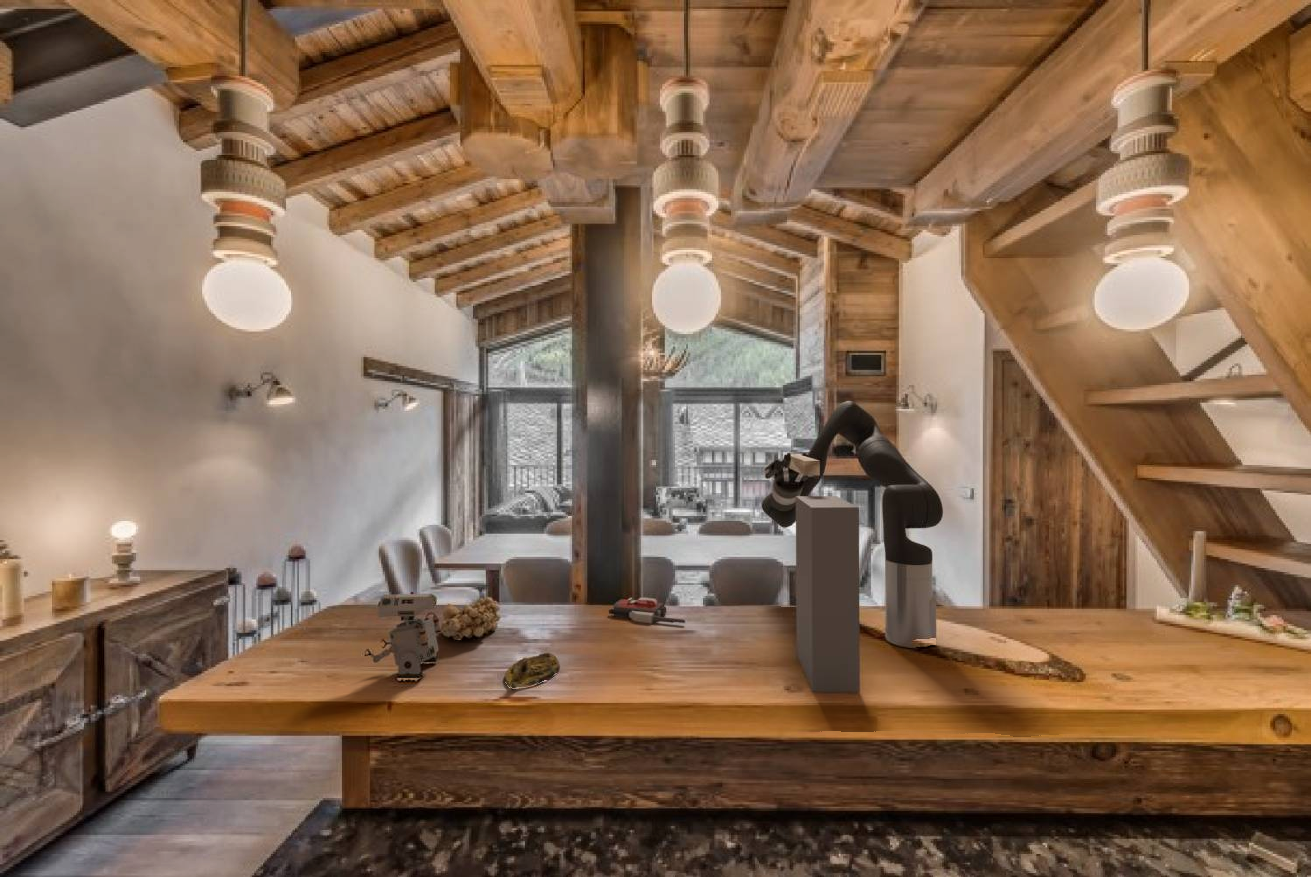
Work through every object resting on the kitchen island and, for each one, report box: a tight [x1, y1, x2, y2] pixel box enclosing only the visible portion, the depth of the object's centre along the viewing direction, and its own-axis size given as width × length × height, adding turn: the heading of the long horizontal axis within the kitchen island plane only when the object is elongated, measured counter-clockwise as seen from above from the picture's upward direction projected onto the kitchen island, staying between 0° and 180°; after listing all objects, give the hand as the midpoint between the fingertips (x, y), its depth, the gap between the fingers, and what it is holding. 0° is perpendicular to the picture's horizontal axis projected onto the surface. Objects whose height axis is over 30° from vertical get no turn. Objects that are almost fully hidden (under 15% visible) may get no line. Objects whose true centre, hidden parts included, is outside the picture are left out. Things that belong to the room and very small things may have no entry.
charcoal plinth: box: [795, 495, 861, 693], centre depth 109 cm, size 8×16×32 cm, turn 176°
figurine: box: [364, 591, 442, 679], centre depth 112 cm, size 9×12×15 cm
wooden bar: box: [788, 454, 820, 475], centre depth 132 cm, size 3×24×3 cm, turn 176°
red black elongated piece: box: [608, 596, 686, 625], centre depth 143 cm, size 9×4×20 cm
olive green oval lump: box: [503, 652, 561, 688], centre depth 111 cm, size 9×5×15 cm
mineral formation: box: [440, 596, 502, 641], centre depth 130 cm, size 8×13×15 cm
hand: (797, 456), depth 138 cm, fingers closed on wooden bar, 3 cm apart
